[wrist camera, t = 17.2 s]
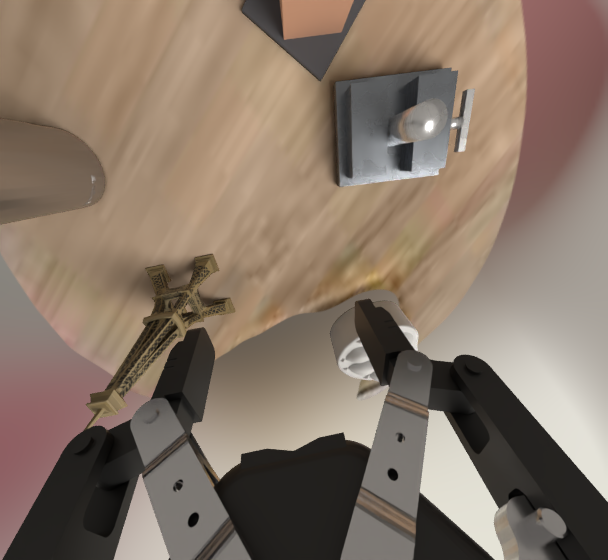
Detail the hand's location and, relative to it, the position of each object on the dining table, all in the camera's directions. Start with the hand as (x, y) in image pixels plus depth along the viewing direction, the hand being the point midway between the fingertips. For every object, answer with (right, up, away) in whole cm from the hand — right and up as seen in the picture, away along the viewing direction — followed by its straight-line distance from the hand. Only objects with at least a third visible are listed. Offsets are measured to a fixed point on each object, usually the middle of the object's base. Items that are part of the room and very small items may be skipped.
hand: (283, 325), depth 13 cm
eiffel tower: (-17, +1, +26) cm, 31 cm away
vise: (+12, +21, +18) cm, 30 cm away
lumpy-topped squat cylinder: (+12, -6, +31) cm, 34 cm away
